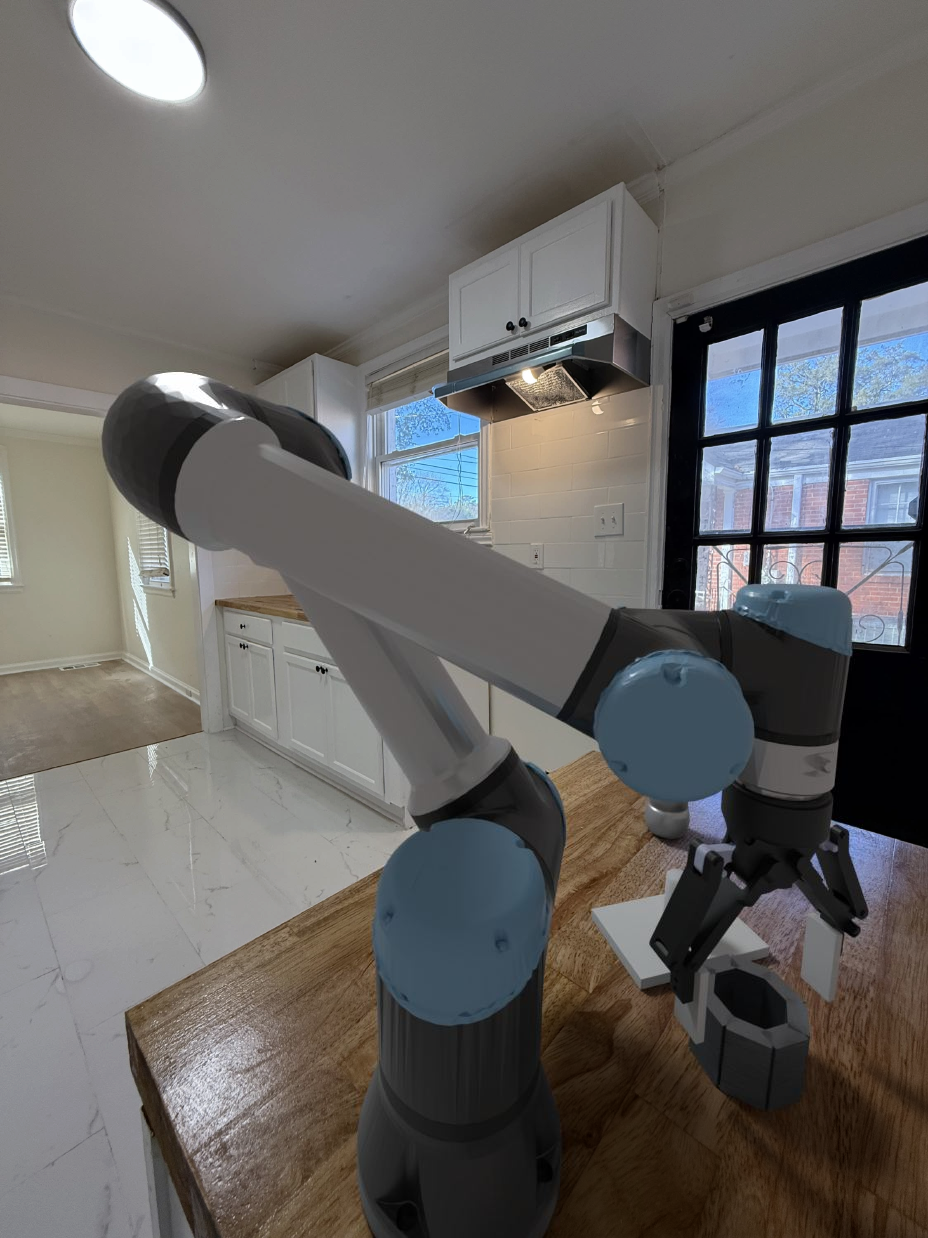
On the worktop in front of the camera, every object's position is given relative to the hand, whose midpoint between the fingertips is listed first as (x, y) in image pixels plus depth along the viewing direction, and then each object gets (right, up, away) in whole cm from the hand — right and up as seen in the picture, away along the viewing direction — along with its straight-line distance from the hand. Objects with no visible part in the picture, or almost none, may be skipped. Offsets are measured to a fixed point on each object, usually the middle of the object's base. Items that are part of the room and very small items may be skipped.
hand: (755, 1007), depth 44 cm
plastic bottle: (+6, +1, +34) cm, 35 cm away
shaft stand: (-1, -3, +14) cm, 14 cm away
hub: (-1, -5, +1) cm, 5 cm away
